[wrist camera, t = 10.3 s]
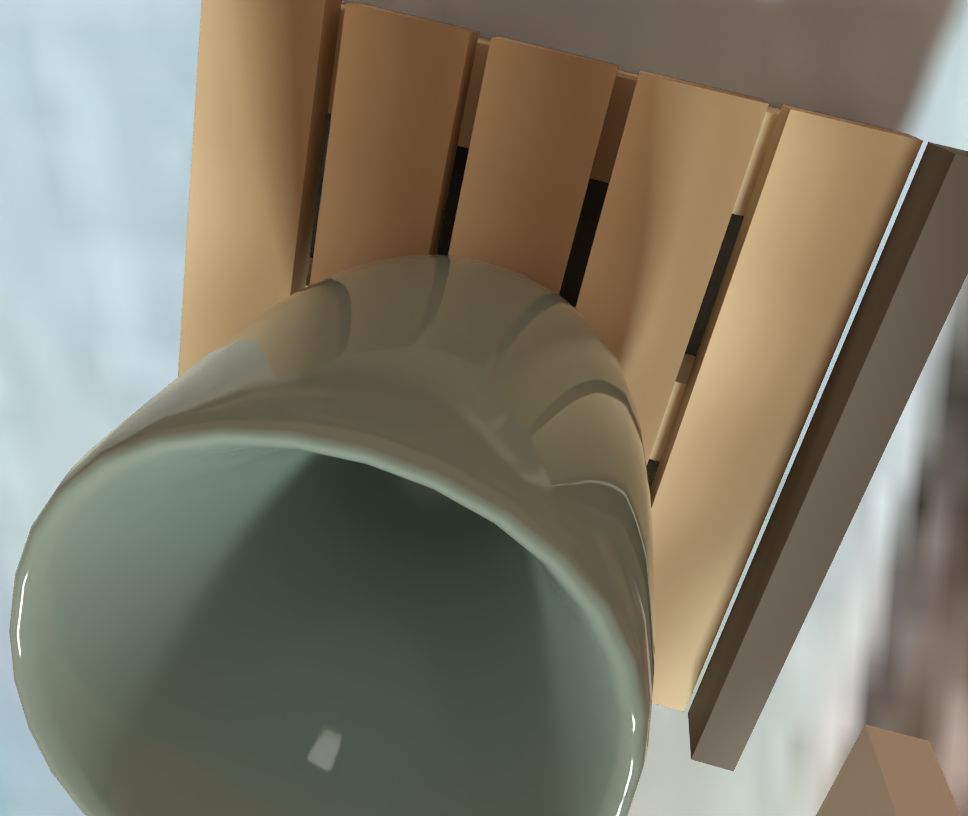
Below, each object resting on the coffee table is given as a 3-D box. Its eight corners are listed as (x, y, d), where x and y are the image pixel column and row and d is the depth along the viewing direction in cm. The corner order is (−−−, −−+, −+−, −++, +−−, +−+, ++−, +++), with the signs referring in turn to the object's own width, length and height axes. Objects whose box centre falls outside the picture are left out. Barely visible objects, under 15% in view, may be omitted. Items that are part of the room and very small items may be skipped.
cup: (324, 166, 18) (-9, 324, 9) (700, 272, 17) (763, 551, 8) (274, 488, 21) (-3, 845, 12) (587, 582, 21) (545, 1023, 12)
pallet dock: (210, 504, 25) (127, 598, 21) (256, -27, 19) (153, -39, 15) (717, 645, 24) (733, 771, 20) (933, 135, 18) (1016, 168, 14)
